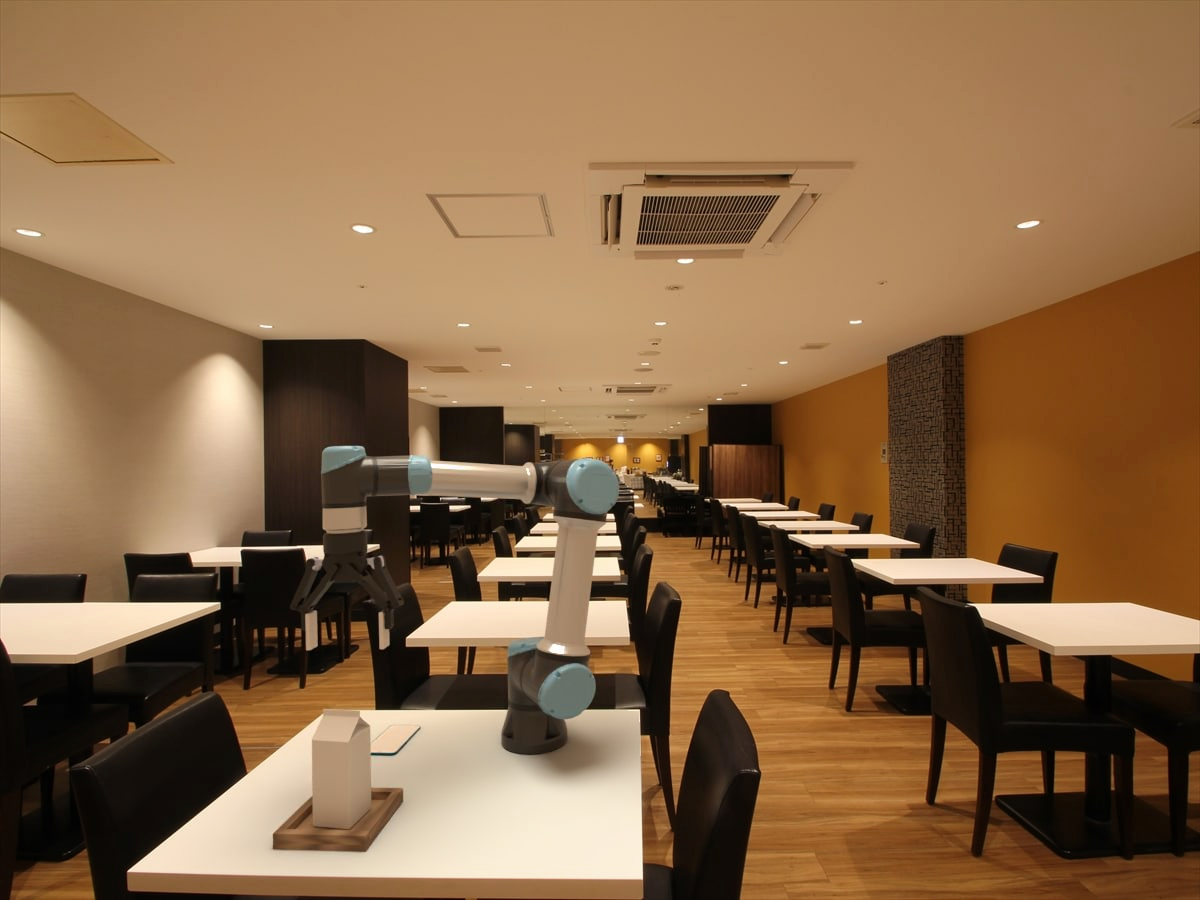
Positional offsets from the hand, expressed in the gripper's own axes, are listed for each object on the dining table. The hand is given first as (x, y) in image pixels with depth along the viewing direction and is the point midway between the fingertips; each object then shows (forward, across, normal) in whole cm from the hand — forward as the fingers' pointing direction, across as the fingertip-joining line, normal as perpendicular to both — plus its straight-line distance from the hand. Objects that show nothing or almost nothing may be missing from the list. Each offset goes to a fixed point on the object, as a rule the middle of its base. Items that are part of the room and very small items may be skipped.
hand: (348, 647), depth 118 cm
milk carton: (+30, +1, +2) cm, 30 cm away
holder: (+30, +1, +2) cm, 30 cm away
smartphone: (+31, +6, -33) cm, 46 cm away
